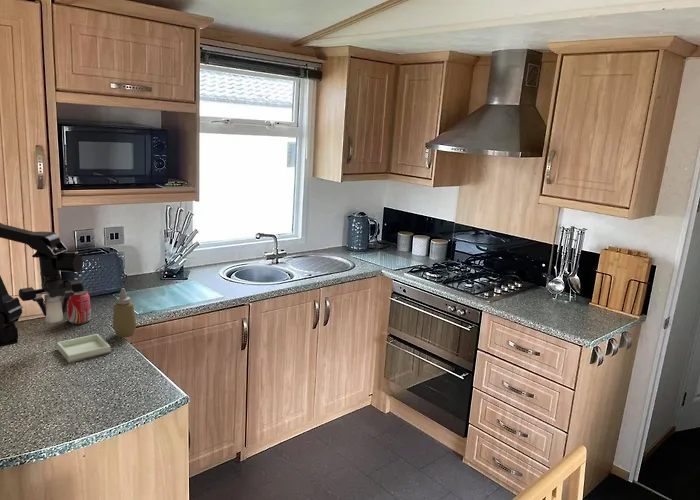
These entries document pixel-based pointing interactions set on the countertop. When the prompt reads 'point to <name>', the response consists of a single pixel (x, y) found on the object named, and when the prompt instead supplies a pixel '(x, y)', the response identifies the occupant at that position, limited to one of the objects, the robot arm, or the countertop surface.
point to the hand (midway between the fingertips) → (54, 314)
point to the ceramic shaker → (53, 308)
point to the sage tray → (83, 348)
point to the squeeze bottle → (124, 316)
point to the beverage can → (79, 308)
